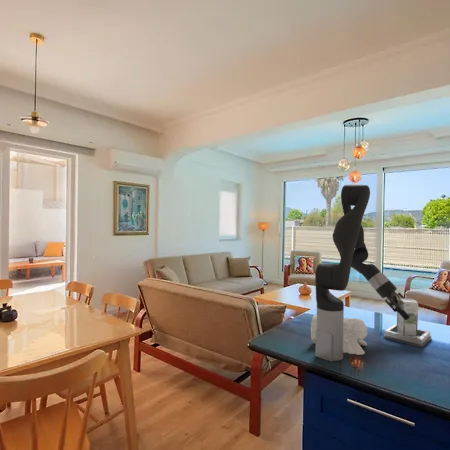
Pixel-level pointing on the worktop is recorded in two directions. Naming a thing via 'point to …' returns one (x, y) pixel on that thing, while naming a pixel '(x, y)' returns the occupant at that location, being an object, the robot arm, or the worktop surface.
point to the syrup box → (411, 323)
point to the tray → (411, 340)
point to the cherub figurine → (347, 335)
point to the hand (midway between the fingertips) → (410, 316)
